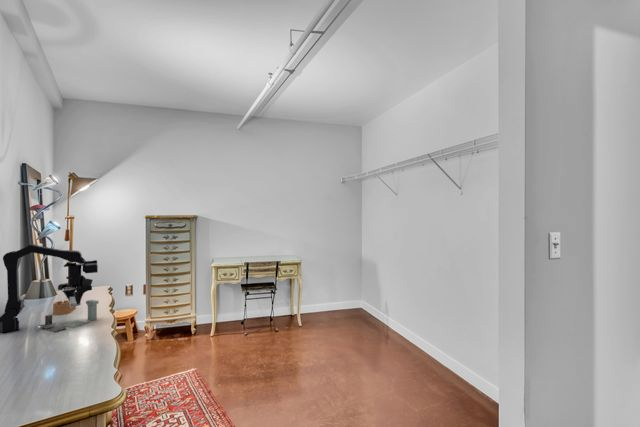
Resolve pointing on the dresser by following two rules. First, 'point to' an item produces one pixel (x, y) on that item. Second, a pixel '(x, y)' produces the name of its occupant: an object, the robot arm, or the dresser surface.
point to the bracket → (62, 308)
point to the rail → (55, 328)
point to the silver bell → (73, 301)
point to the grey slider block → (47, 323)
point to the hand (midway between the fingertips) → (75, 303)
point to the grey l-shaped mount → (91, 314)
